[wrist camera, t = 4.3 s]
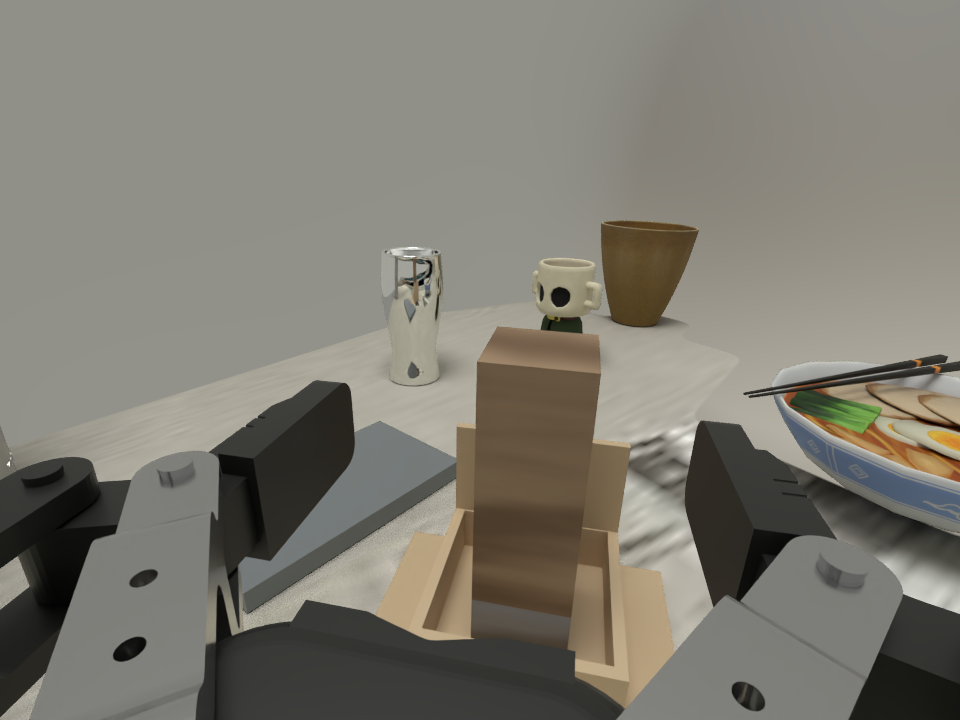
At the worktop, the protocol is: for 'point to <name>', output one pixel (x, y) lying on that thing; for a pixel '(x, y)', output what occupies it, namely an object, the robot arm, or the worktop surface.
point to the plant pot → (643, 267)
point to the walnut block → (531, 480)
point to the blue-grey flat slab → (352, 507)
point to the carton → (598, 588)
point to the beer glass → (412, 311)
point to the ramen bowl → (880, 431)
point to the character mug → (565, 293)
